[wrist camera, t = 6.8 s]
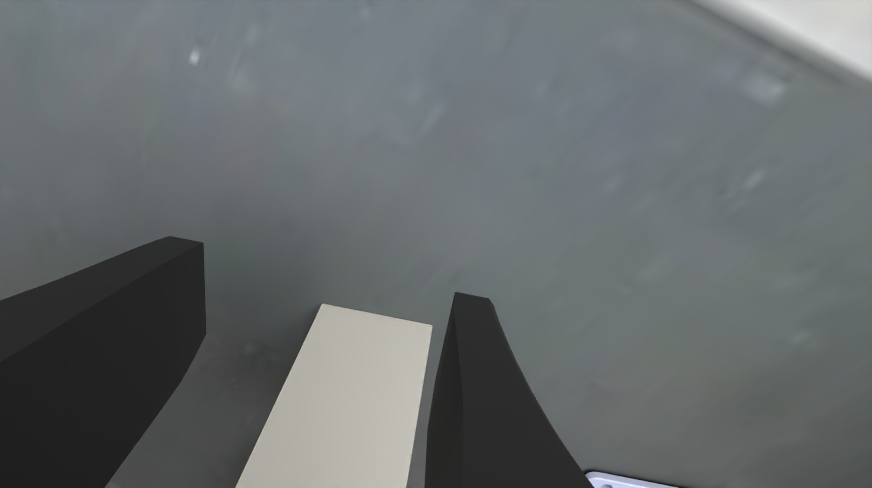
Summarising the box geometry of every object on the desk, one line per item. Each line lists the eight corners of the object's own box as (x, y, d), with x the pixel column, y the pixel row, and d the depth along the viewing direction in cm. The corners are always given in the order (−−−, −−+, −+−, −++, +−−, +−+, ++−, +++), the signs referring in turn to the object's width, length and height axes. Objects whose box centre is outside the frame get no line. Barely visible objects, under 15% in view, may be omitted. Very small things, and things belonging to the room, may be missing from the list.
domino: (432, 325, 23) (398, 535, 15) (426, 356, 23) (389, 572, 15) (322, 303, 23) (228, 502, 15) (319, 335, 23) (228, 540, 15)
